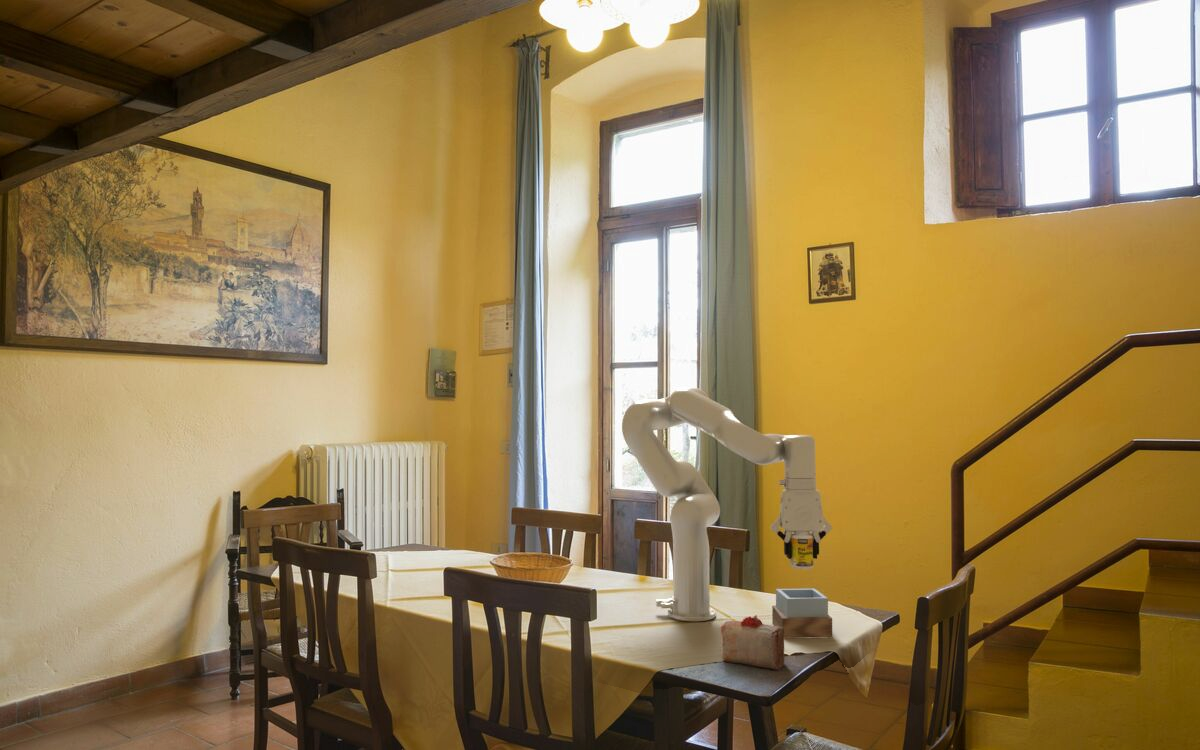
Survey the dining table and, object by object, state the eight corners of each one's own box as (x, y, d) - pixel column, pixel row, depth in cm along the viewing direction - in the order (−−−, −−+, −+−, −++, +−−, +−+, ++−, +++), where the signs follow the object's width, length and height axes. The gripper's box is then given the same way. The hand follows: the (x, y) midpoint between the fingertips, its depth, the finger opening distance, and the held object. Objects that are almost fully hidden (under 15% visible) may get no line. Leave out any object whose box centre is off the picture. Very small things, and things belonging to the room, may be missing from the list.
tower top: (787, 617, 196) (787, 598, 197) (776, 606, 206) (775, 589, 207) (828, 616, 197) (827, 598, 197) (814, 606, 207) (814, 588, 207)
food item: (716, 662, 178) (715, 617, 178) (729, 652, 185) (729, 608, 185) (776, 673, 171) (776, 625, 171) (788, 662, 178) (788, 617, 178)
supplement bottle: (796, 570, 198) (795, 528, 199) (786, 565, 204) (785, 524, 204) (817, 568, 200) (816, 527, 200) (807, 564, 205) (806, 523, 205)
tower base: (782, 639, 196) (782, 618, 196) (772, 625, 208) (772, 605, 208) (832, 639, 196) (832, 618, 196) (819, 625, 208) (819, 605, 208)
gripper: (768, 486, 199) (769, 561, 198) (839, 486, 199) (840, 560, 198) (763, 483, 207) (764, 555, 206) (831, 482, 206) (832, 554, 205)
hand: (801, 557), depth 202 cm, fingers closed on supplement bottle, 5 cm apart
